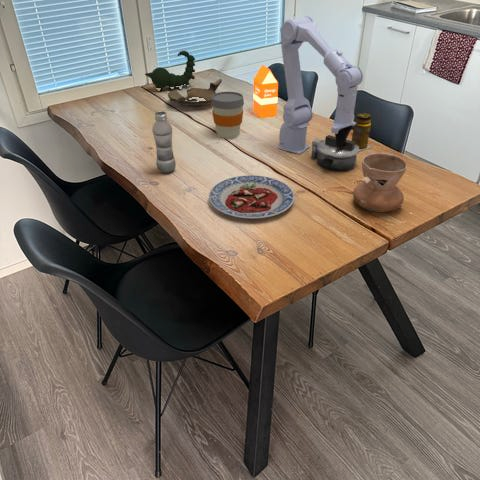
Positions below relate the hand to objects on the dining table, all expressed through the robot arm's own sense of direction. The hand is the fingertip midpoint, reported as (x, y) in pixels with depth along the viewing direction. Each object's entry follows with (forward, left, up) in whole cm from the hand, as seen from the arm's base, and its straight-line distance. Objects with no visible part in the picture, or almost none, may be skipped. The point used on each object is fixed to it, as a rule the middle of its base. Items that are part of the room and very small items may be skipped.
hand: (340, 147), depth 153 cm
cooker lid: (-3, +2, -2) cm, 4 cm away
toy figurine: (-106, +33, -8) cm, 112 cm away
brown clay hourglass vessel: (+21, -16, -8) cm, 27 cm away
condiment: (-1, +20, -8) cm, 22 cm away
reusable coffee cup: (-48, +2, -8) cm, 49 cm away
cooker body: (-3, +2, -7) cm, 8 cm away
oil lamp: (-81, +24, -8) cm, 85 cm away
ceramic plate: (-11, -36, -8) cm, 38 cm away
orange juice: (-48, +29, -8) cm, 57 cm away
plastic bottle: (-46, -36, -8) cm, 59 cm away
